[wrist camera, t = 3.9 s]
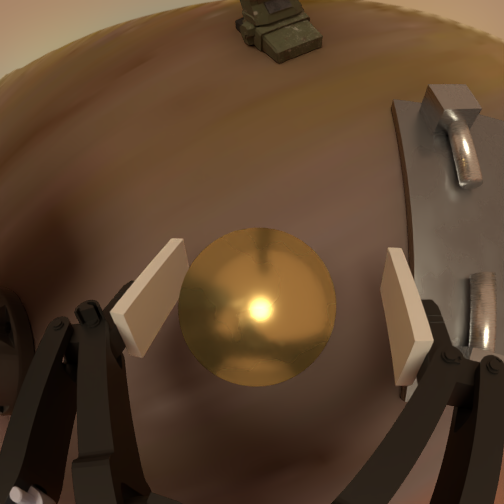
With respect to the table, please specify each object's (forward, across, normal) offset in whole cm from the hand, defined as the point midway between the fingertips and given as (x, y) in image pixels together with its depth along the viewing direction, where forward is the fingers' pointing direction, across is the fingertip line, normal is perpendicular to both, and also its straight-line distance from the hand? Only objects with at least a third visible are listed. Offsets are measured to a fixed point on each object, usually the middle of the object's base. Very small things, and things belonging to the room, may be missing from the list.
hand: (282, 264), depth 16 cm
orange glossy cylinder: (+1, 0, -5) cm, 5 cm away
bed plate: (+6, +15, 0) cm, 16 cm away
